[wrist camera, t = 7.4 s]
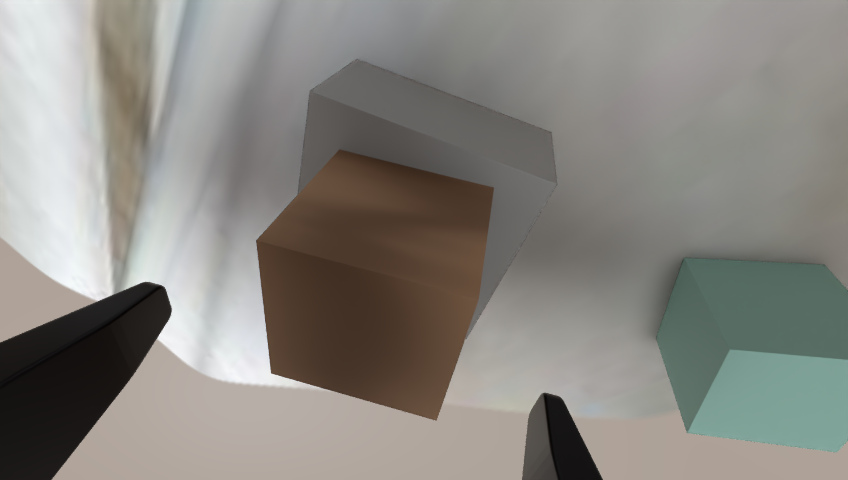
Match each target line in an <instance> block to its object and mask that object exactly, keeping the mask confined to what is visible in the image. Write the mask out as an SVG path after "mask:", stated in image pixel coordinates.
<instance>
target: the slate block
mask: <svg viewBox="0 0 848 480" xmlns="http://www.w3.org/2000/svg"><path fill="white" fill-rule="evenodd" d="M339 149H340V150H344V151H348V152H352V153H356V154H360V155H364V156H368V157H372V158H376V159H380V160H384V161H388V162H392V163H396V164H400V165H404V166H408V167H413V168H417V169H421V170H425V171H429V172H433V173H437V174H441V175H445V176H449V177H453V178H457V179H461V180H465V181H469V182H473V183H477V184H481V185H485V186H490V187H494V192H493V199H492V206H491V214H490V221H489V228H488V236H487V243H486V250H485V258H484V265H483V272H482V280H481V287H480V294H479V300H478V303H477V306H476V309H475V312H474V315H473V317H472V320H471V323H470V326H469V329H468V332H467V335H466V337H465V339H467V337H468V335H469V334H470V332H471V330H472V329H473V327H474V325H475V323H476V322H477V320H478V318H479V317H480V315H481V313H482V311H483V310H484V308H485V306H486V305H487V303H488V301H489V300H490V298H491V296H492V294H493V293H494V291H495V289H496V288H497V286H498V284H499V283H500V281H501V279H502V277H503V276H504V274H505V272H506V271H507V269H508V267H509V266H510V264H511V262H512V260H513V259H514V257H515V255H516V254H517V252H518V250H519V248H520V247H521V245H522V243H523V242H524V240H525V238H526V237H527V235H528V233H529V231H530V230H531V228H532V226H533V225H534V223H535V221H536V220H537V218H538V216H539V214H540V213H541V211H542V209H543V208H544V206H545V204H546V203H547V201H548V199H549V197H550V196H551V194H552V192H553V191H554V189H555V187H556V185H557V177H556V169H555V160H554V152H553V143H552V135H551V132H549V131H546V130H543V129H541V128H538V127H535V126H533V125H530V124H527V123H525V122H522V121H520V120H517V119H514V118H512V117H509V116H506V115H504V114H501V113H498V112H496V111H493V110H490V109H488V108H485V107H482V106H480V105H477V104H474V103H472V102H469V101H466V100H464V99H461V98H458V97H456V96H453V95H451V94H448V93H445V92H443V91H440V90H437V89H435V88H432V87H429V86H427V85H424V84H421V83H419V82H416V81H413V80H411V79H408V78H405V77H403V76H400V75H397V74H395V73H392V72H389V71H387V70H384V69H382V68H379V67H376V66H374V65H371V64H368V63H366V62H363V61H360V60H358V59H356V60H355V61H353V62H352V63H350V64H349V65H347V66H346V67H344V68H343V69H342V70H340V71H339V72H337V73H336V74H334V75H333V76H331V77H330V78H328V79H327V80H325V81H324V82H323V83H321V84H320V85H318V86H317V87H315V88H314V89H312V90H311V91H310V94H309V103H308V111H307V120H306V128H305V137H304V145H303V154H302V162H301V171H300V179H299V188H298V194H299V193H300V192H301V191H302V190H303V189H304V188H305V187H306V185H307V184H308V183H309V182H310V181H311V180H312V179H313V178H314V177H315V176H316V174H317V173H318V172H319V171H320V170H321V169H322V168H323V167H324V166H325V165H326V163H327V162H328V161H329V160H330V159H331V158H332V157H333V156H334V155H335V154H336V152H337V151H338V150H339Z"/></svg>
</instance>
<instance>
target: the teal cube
mask: <svg viewBox="0 0 848 480" xmlns="http://www.w3.org/2000/svg"><path fill="white" fill-rule="evenodd" d="M656 340H657V343H658V346H659V349H660V352H661V355H662V358H663V361H664V364H665V367H666V370H667V373H668V376H669V379H670V382H671V385H672V389H673V392H674V395H675V398H676V401H677V404H678V407H679V410H680V413H681V416H682V419H683V422H684V425H685V428H686V431H687V433H692V434H699V435H706V436H715V437H722V438H730V439H737V440H745V441H753V442H761V443H768V444H776V445H785V446H791V447H799V448H807V449H815V450H822V451H830V452H837V451H839V450H840V449H841V447H842V446H843V445H844V444H845V443H846V442H847V441H848V290H847V289H846V288H845V287H844V286H843V285H842V283H841V282H840V281H839V280H838V279H837V278H836V277H835V276H834V275H833V274H832V273H831V272H830V270H829V269H828V268H827V267H826V266H825V265H819V264H799V263H779V262H759V261H739V260H719V259H699V258H684V259H683V262H682V265H681V268H680V271H679V274H678V276H677V279H676V282H675V285H674V288H673V291H672V294H671V296H670V299H669V302H668V305H667V308H666V311H665V314H664V317H663V319H662V322H661V325H660V328H659V331H658V334H657V337H656Z"/></svg>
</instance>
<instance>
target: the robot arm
mask: <svg viewBox="0 0 848 480" xmlns="http://www.w3.org/2000/svg"><path fill="white" fill-rule="evenodd" d="M171 312H172V308H171V305H170V301H169V298H168V295H167V292H166V289H165V287H163V286H162V285H159V284H155V283H151V282H143V283H140V284H138V285H135V286H133V287H131V288H128V289H126V290H124V291H121V292H119V293H116V294H114V295H112V296H109V297H107V298H105V299H102V300H100V301H98V302H95V303H93V304H90V305H88V306H86V307H83V308H81V309H79V310H76V311H74V312H71V313H69V314H67V315H64V316H62V317H60V318H57V319H55V320H53V321H50V322H48V323H45V324H43V325H41V326H38V327H36V328H34V329H31V330H29V331H26V332H24V333H22V334H20V335H17V336H15V337H12V338H10V339H8V340H5V341H3V342H0V480H52V478H53V477H54V476H55V475H56V473H57V472H58V471H59V469H60V468H61V467H62V465H63V464H64V463H65V462H66V461H67V459H68V458H69V457H70V455H71V454H72V453H73V452H74V450H75V449H76V448H77V447H78V445H79V444H80V443H81V441H82V440H83V439H84V438H85V436H86V435H87V434H88V432H89V431H90V430H91V429H92V427H93V426H94V425H95V424H96V422H97V421H98V420H99V418H100V417H101V416H102V415H103V413H104V412H105V411H106V410H107V408H108V407H109V406H110V404H111V403H112V402H113V401H114V399H115V398H116V397H117V396H118V394H119V393H120V392H121V390H122V389H123V388H124V387H125V385H126V384H127V383H128V381H129V380H130V379H131V377H132V376H133V375H134V373H135V372H136V370H137V369H138V367H139V366H140V364H141V363H142V361H143V359H144V358H145V356H146V355H147V353H148V351H149V350H150V348H151V347H152V345H153V344H154V342H155V341H156V339H157V337H158V336H159V334H160V333H161V331H162V330H163V328H164V326H165V325H166V323H167V322H168V320H169V318H170V316H171ZM526 437H527V438H526V446H525V456H524V467H523V477H522V480H603V479H602V477H601V475H600V473H599V471H598V469H597V467H596V465H595V463H594V461H593V459H592V457H591V455H590V453H589V451H588V449H587V447H586V445H585V443H584V441H583V439H582V437H581V435H580V433H579V431H578V429H577V427H576V425H575V423H574V421H573V419H572V417H571V415H570V413H569V411H568V409H567V407H566V405H565V403H564V401H563V400H562V398H560V397H559V396H556V395H552V394H549V393H542V394H541V395H540V397H539V398H538V400H537V402H536V403H535V405H534V407H533V408H532V410H531V412H530V414H529V418H528V427H527V436H526Z"/></svg>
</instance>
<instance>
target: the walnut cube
mask: <svg viewBox="0 0 848 480" xmlns="http://www.w3.org/2000/svg"><path fill="white" fill-rule="evenodd" d="M493 192H494V187H490V186H485V185H481V184H477V183H473V182H469V181H465V180H461V179H457V178H453V177H449V176H445V175H441V174H437V173H433V172H429V171H425V170H421V169H417V168H413V167H408V166H404V165H400V164H396V163H392V162H388V161H384V160H380V159H376V158H372V157H368V156H364V155H360V154H356V153H352V152H348V151H344V150H340V149H339V150H338V151H337V152H336V154H335V155H334V156H333V157H332V158H331V159H330V160H329V161H328V162H327V163H326V165H325V166H324V167H323V168H322V169H321V170H320V171H319V172H318V173H317V174H316V176H315V177H314V178H313V179H312V180H311V181H310V182H309V183H308V184H307V185H306V187H305V188H304V189H303V190H302V191H301V192H300V193H299V194H298V195H297V196H296V198H295V199H294V200H293V201H292V202H291V203H290V204H289V205H288V206H287V207H286V208H285V210H284V211H283V212H282V213H281V214H280V215H279V216H278V217H277V218H276V219H275V221H274V222H273V223H272V224H271V225H270V226H269V227H268V228H267V229H266V230H265V232H264V233H263V234H262V235H261V236H260V237H259V238H258V239H257V240H256V243H257V252H258V260H259V269H260V278H261V287H262V296H263V305H264V314H265V322H266V331H267V340H268V349H269V358H270V367H271V373H272V374H275V375H279V376H282V377H286V378H289V379H293V380H296V381H300V382H303V383H307V384H310V385H314V386H317V387H321V388H324V389H328V390H331V391H335V392H338V393H342V394H345V395H349V396H352V397H356V398H359V399H363V400H366V401H370V402H373V403H377V404H380V405H384V406H387V407H391V408H395V409H398V410H402V411H405V412H408V413H412V414H416V415H419V416H422V417H426V418H429V419H433V420H437V418H438V415H439V412H440V409H441V406H442V403H443V400H444V398H445V395H446V392H447V389H448V386H449V383H450V380H451V378H452V375H453V372H454V369H455V366H456V363H457V360H458V358H459V355H460V352H461V349H462V346H463V343H464V340H465V337H466V335H467V332H468V329H469V326H470V323H471V320H472V317H473V315H474V312H475V309H476V306H477V303H478V300H479V294H480V287H481V280H482V272H483V265H484V258H485V250H486V243H487V236H488V228H489V221H490V214H491V206H492V199H493Z"/></svg>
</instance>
